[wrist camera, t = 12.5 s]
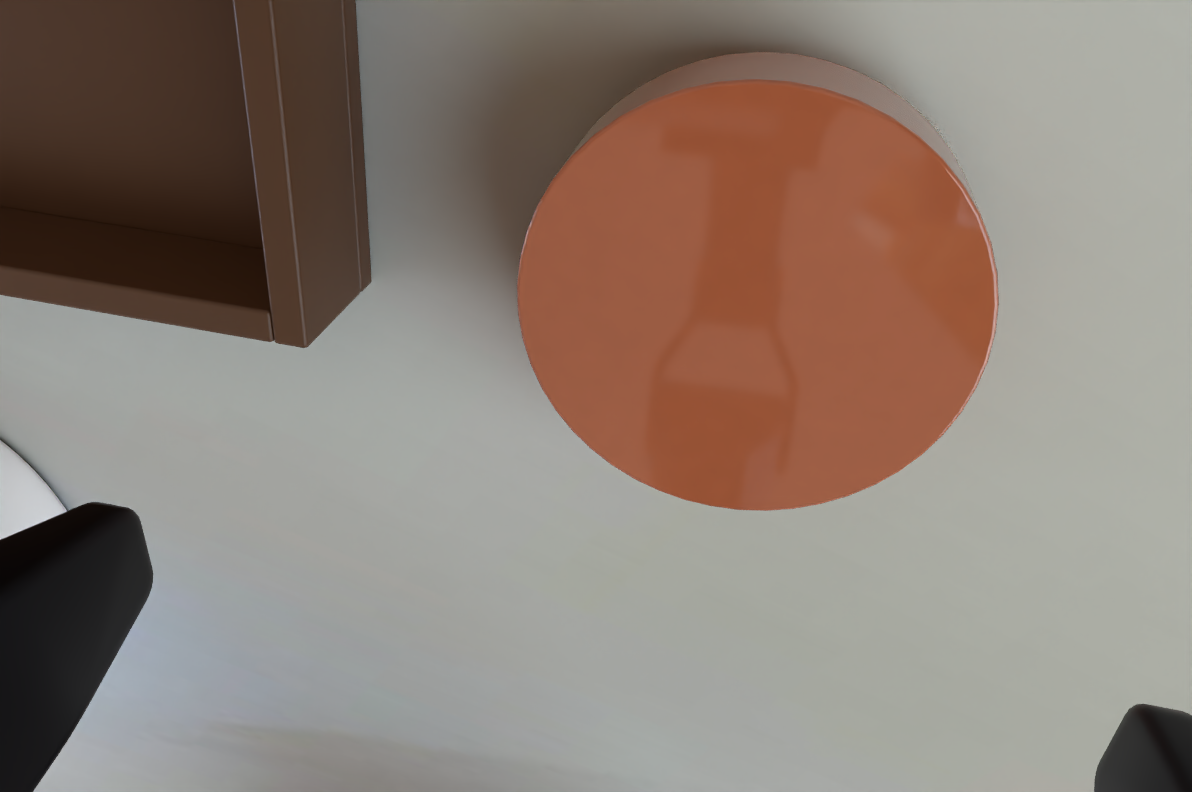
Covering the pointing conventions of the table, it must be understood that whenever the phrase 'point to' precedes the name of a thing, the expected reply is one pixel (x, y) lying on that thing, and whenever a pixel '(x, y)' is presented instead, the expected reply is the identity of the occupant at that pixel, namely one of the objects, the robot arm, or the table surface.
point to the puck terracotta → (759, 284)
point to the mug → (23, 495)
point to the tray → (185, 161)
